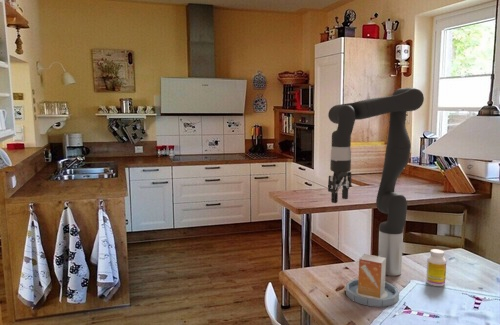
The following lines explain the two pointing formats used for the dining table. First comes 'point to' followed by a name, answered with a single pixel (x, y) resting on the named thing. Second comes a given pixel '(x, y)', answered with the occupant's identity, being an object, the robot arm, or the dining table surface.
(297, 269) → the dining table surface
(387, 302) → the grey shallow round dish
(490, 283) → the dining table surface
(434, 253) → the supplement bottle
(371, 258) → the small box
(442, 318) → the dining table surface
